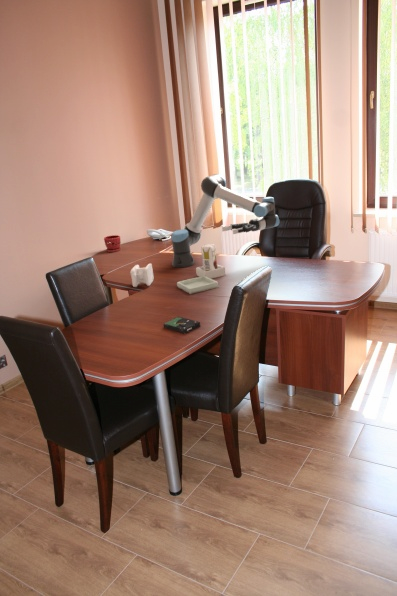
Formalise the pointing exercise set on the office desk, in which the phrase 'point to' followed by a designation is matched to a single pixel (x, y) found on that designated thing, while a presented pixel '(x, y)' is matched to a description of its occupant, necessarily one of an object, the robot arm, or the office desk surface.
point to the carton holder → (211, 272)
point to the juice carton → (209, 257)
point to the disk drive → (182, 325)
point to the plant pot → (112, 243)
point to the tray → (197, 284)
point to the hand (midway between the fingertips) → (227, 230)
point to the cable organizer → (142, 275)
